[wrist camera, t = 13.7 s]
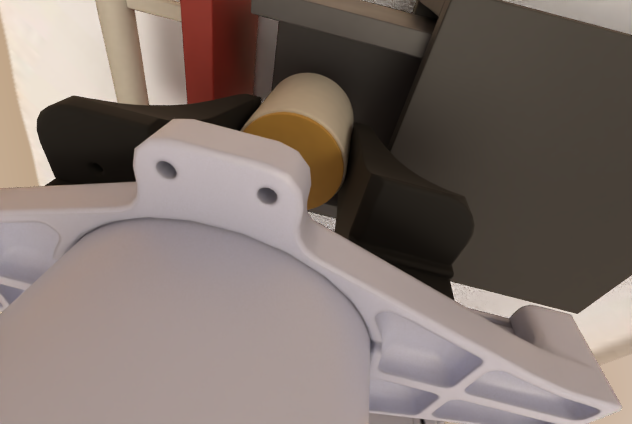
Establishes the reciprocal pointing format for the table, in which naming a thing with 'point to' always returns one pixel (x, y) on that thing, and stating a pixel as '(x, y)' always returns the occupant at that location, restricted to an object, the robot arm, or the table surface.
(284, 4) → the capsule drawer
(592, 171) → the black drawer box
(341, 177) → the beige cylinder
